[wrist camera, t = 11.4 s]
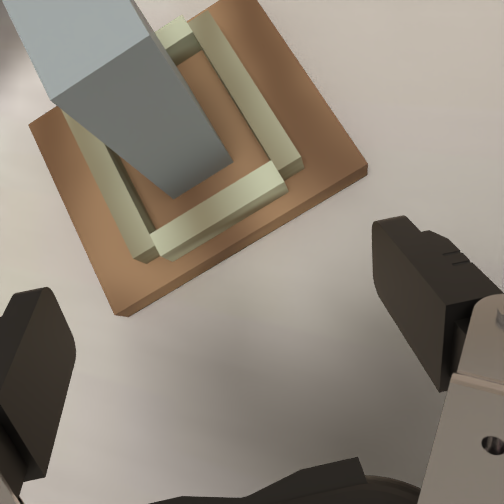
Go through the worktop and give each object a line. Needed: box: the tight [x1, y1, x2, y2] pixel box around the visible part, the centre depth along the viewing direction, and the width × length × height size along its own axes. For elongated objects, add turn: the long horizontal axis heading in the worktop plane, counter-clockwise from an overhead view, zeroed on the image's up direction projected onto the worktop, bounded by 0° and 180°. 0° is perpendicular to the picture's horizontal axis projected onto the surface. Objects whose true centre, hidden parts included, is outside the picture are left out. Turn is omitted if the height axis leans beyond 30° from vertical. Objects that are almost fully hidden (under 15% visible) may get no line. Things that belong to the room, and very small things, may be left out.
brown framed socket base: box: [29, 0, 368, 317], centre depth 24 cm, size 14×12×3 cm
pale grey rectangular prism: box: [2, 0, 233, 199], centre depth 19 cm, size 4×5×10 cm
